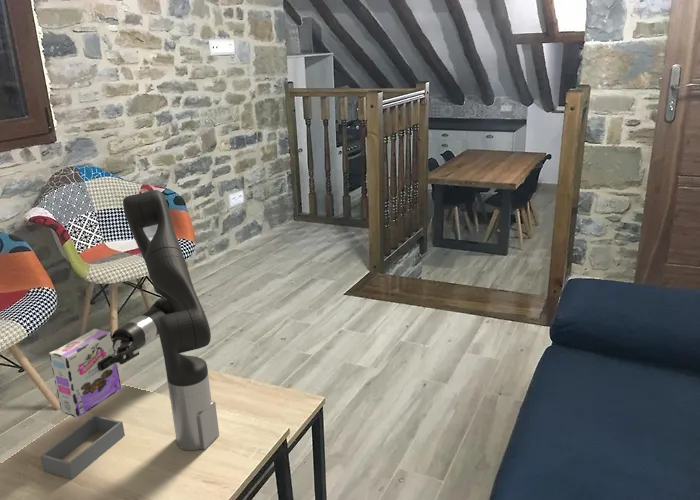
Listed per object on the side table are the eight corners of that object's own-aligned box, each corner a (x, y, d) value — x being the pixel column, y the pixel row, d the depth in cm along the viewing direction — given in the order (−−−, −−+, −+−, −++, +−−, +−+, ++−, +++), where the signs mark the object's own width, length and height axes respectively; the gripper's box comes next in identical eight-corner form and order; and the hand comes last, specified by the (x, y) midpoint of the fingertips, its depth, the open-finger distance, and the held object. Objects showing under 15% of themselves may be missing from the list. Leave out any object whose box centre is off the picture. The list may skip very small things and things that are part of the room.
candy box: (78, 419, 140) (65, 357, 134) (60, 413, 142) (46, 352, 137) (122, 388, 151) (111, 331, 146) (105, 384, 154) (94, 327, 148)
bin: (124, 435, 146) (122, 421, 145) (72, 479, 131) (69, 464, 130) (97, 428, 149) (94, 415, 148) (43, 470, 135) (40, 455, 133)
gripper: (111, 318, 160) (62, 347, 145) (155, 325, 155) (109, 356, 140) (116, 343, 163) (68, 374, 148) (159, 350, 158) (114, 383, 143)
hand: (88, 365), depth 144 cm, fingers closed on candy box, 6 cm apart
